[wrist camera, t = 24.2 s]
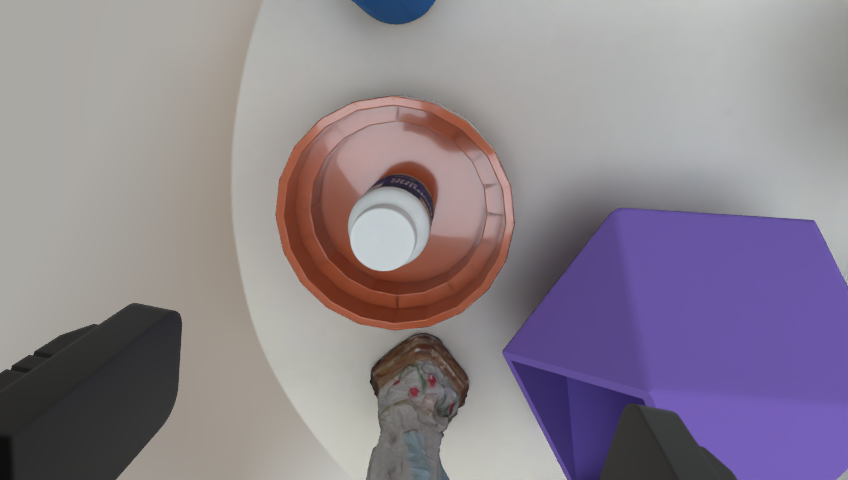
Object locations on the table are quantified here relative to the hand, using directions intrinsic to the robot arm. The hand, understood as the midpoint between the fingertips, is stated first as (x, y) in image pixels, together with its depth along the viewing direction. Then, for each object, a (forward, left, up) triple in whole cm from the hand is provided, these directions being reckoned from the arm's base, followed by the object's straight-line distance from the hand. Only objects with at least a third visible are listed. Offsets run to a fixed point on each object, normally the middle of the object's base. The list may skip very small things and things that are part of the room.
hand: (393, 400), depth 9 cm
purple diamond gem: (+17, -9, -33) cm, 38 cm away
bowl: (-3, -4, -33) cm, 33 cm away
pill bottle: (-3, -4, -32) cm, 32 cm away
